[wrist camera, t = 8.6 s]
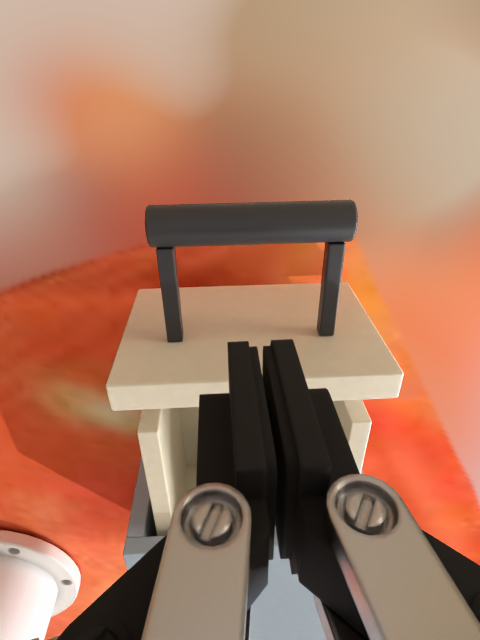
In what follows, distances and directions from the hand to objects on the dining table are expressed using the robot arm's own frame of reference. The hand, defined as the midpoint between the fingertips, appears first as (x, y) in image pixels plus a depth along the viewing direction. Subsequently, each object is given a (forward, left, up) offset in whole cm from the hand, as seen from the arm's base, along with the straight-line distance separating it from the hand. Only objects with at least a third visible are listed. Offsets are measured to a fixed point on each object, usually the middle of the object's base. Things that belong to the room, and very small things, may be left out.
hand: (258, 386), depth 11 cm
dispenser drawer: (0, -6, -10) cm, 11 cm away
